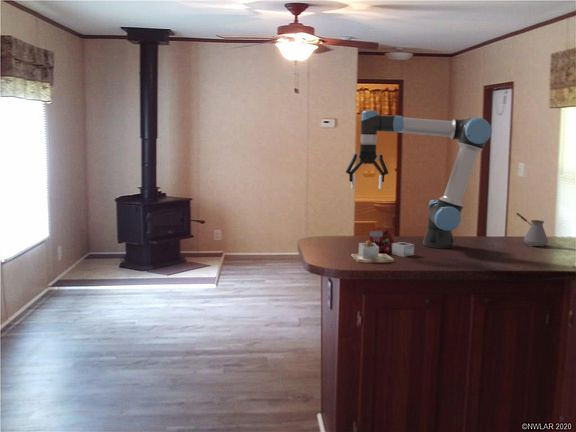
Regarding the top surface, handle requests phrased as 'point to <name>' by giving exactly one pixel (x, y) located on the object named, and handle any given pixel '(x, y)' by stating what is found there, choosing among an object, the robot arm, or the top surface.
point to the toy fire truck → (377, 238)
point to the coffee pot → (535, 233)
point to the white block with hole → (403, 249)
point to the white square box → (368, 251)
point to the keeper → (380, 258)
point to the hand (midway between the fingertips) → (366, 188)
